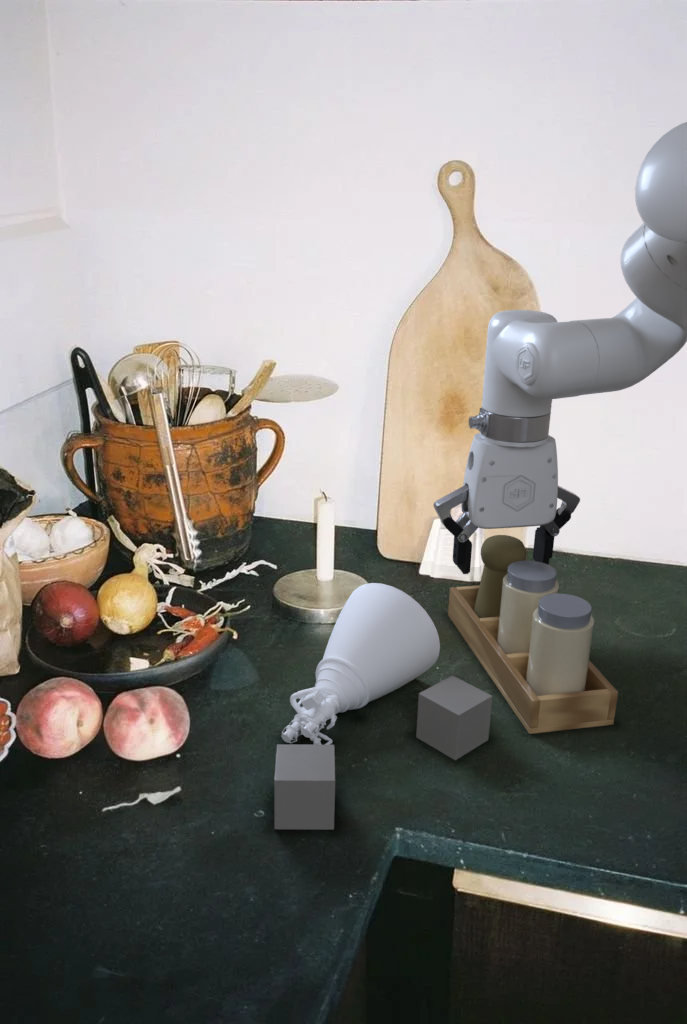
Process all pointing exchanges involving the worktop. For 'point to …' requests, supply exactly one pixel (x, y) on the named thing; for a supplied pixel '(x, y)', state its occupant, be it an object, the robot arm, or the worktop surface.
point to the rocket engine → (366, 657)
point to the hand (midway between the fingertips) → (501, 566)
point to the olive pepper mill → (496, 572)
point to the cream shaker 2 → (560, 645)
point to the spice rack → (512, 670)
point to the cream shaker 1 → (522, 602)
